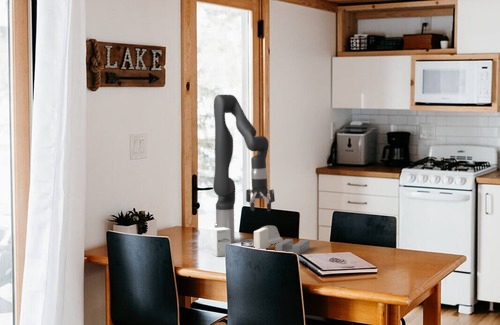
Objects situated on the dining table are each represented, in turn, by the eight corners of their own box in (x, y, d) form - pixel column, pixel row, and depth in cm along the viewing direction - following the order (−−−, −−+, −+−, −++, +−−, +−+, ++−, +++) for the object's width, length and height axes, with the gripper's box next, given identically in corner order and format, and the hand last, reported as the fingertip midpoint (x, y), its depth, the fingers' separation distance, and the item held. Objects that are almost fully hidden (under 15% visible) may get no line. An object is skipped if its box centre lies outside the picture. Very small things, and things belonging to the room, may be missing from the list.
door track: (299, 254, 375) (299, 246, 374) (275, 252, 379) (275, 244, 379) (309, 248, 390) (309, 240, 389) (286, 246, 394) (286, 238, 394)
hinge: (265, 246, 396) (259, 227, 397) (258, 248, 399) (252, 229, 400) (283, 241, 410) (278, 222, 411) (276, 243, 412) (270, 225, 414)
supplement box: (217, 257, 372) (216, 230, 371) (210, 254, 378) (209, 228, 377) (231, 255, 375) (230, 228, 374) (224, 252, 382) (223, 226, 381)
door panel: (259, 252, 381) (259, 231, 380) (253, 252, 382) (252, 231, 382) (268, 248, 392) (268, 227, 391) (262, 247, 393) (261, 227, 393)
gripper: (242, 178, 386) (244, 211, 387) (269, 178, 380) (270, 212, 381) (249, 176, 393) (251, 209, 394) (275, 176, 386) (277, 210, 387)
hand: (260, 210), depth 387 cm, fingers open, 8 cm apart
